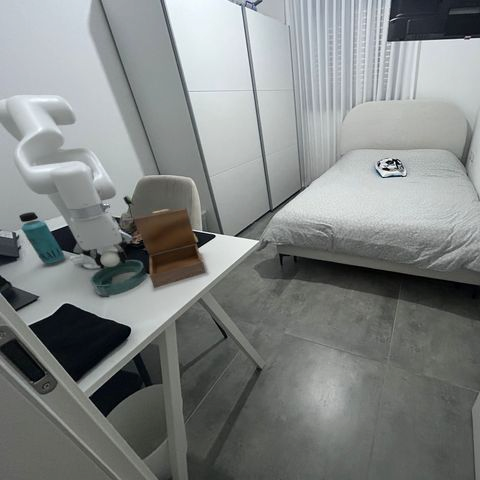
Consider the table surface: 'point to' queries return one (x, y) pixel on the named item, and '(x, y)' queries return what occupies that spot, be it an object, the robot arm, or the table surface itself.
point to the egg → (110, 257)
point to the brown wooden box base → (175, 265)
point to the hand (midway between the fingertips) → (113, 263)
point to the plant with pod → (129, 223)
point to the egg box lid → (165, 230)
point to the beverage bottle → (41, 238)
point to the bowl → (105, 275)
